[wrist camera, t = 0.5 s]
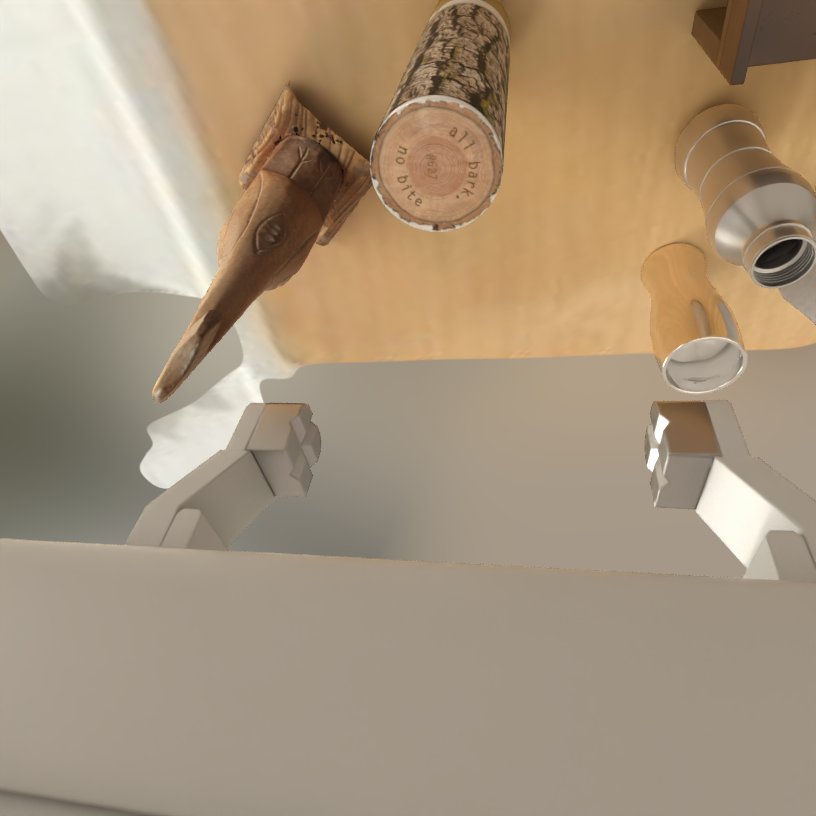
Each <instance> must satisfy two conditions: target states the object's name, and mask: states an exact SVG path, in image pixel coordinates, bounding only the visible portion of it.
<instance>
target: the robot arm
mask: <svg viewBox="0 0 816 816" xmlns="http://www.w3.org/2000/svg"><path fill="white" fill-rule="evenodd" d="M312 415H313V413H312V411H311V409H310V407H309V405H307V404H301V403H300V404H299V403H250V404H249V405H248V406H247V407H246V409H245V411H244V413H243V415H242V417H241V419H240V421H239V423H238V425H237V427H236V429H235V431H234V433H233V436H232V438H231V440H230V442H229V444H228V446H227V448H226V450H220V451H218V452H217V453H216V454H214V455H213V456H212V457H210V458H209V459H208V460H206V461H205V462H204V463H202V464H201V465H200V466H198V467H197V468H196V469H194V470H193V471H192V472H190V473H189V474H188V475H186V476H185V477H184V478H182V479H181V480H180V481H178V482H177V483H176V484H174V485H173V486H172V487H170V488H169V489H168V490H166V491H165V492H164V493H162V494H161V495H160V496H158V497H157V498H156V499H154V500H153V501H152V502H150V503H149V504H148V505H146V507H145V509H144V511H143V512H142V514H141V516H140V518H139V519H138V521H137V523H136V525H135V527H134V528H133V530H132V532H131V534H130V535H129V537H128V539H127V541H126V543H125V544H124V545H111V544H91V543H73V542H54V541H35V540H18V539H5V538H0V816H816V501H815V500H814V499H812V498H811V497H810V496H808V495H807V494H806V493H805V492H803V491H802V490H801V489H799V488H798V487H797V486H795V485H794V484H793V483H792V482H790V481H789V480H788V479H786V478H785V477H784V476H782V475H781V474H780V473H778V472H777V471H776V470H774V469H773V468H772V467H771V466H769V465H768V464H767V463H765V462H764V461H763V460H761V459H760V458H759V457H751V456H750V453H749V451H748V448H747V445H746V442H745V440H744V437H743V434H742V431H741V429H740V426H739V423H738V420H737V418H736V415H735V412H734V410H733V407H732V404H731V403H730V402H729V401H728V400H707V401H654V402H653V404H652V406H651V411H650V417H651V422H652V424H650V425H649V426H648V427H647V430H646V436H645V458H646V464H647V468H649V469H650V470H651V471H652V472H653V473H652V477H651V481H650V485H651V490H652V495H653V500H654V505H655V507H660V508H678V509H696V512H697V513H698V515H699V516H700V517H701V518H702V519H703V520H704V521H705V522H706V523H707V525H708V526H709V527H710V528H711V529H712V530H713V531H714V532H715V533H716V535H717V536H718V537H719V538H720V539H721V540H722V541H723V542H724V543H725V544H726V546H727V547H728V548H729V549H730V550H731V551H732V552H733V553H734V554H735V556H736V557H737V558H738V559H739V560H740V561H741V562H742V563H743V564H744V566H745V567H746V568H747V571H746V572H745V575H744V576H743V578H728V577H709V576H691V575H673V574H653V573H636V572H635V573H634V572H616V571H598V570H578V569H577V570H576V569H559V568H541V567H521V566H502V565H484V564H482V565H481V564H465V563H447V562H446V563H445V562H427V561H410V560H409V561H408V560H391V559H372V558H354V557H336V556H335V557H334V556H316V555H297V554H279V553H259V552H242V551H229V550H228V549H227V548H228V547H229V546H230V545H231V544H232V543H233V542H234V541H235V540H236V539H237V537H238V536H239V535H240V534H241V533H242V532H243V531H244V530H245V529H246V528H247V527H248V526H249V525H250V524H251V523H252V522H253V521H254V520H255V519H256V518H257V517H258V515H260V513H261V512H262V511H263V510H264V509H265V508H266V507H267V506H268V505H269V504H270V503H271V502H272V501H273V500H274V499H275V496H306V495H307V492H308V489H309V486H310V483H311V480H312V477H313V474H312V472H311V470H310V468H311V467H312V466H313V465H314V464H315V463H317V462H318V459H319V455H320V451H321V450H320V449H321V437H320V432H319V429H318V426H316V425H315V424H314V423H313V422H311V421H310V420H311V417H312Z"/></svg>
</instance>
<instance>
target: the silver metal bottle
mask: <svg viewBox="0 0 816 816" xmlns="http://www.w3.org/2000/svg"><path fill="white" fill-rule="evenodd" d="M675 168H676V171H677V174H678V176H679V177H680V179H681V180H682V181H683V182H684V183H685V185H686V186H688V187H689V188H690V189H691V190H693V191H694V193H695V194H696V195H697V197H698V198H699V200H700V202H701V205H702V208H703V211H704V216H705V224H706V231H707V236H708V240H709V243H710V245H711V248H712V249H713V250H714V252H715V253H716V254H717V255H719V256H720V257H721V258H723V259H724V260H726V261H728V262H730V263H732V264H735V265H739V266H744V267H745V269H746V270H747V272H748V273H749V274H750V276H751V278H752V279H753V281H754V282H755V283H756V284H758V285H759V286H761V287H765V288H781V287H785V286H788V285H791V284H793V283H795V282H797V281H799V280H800V279H801V278H803V277H804V276H805V275H806V274H807V273H809V271H810V270H811V269H812V268H813V266H814V265H815V263H816V244H815V242H814V240H813V237H812V234H811V232H810V229H811V227H812V226H813V223H814V220H815V217H816V197H815V192H814V190H813V188H812V186H811V185H810V184H809V183H808V182H807V181H806V180H805V179H804V178H803V177H802V176H801V175H800V174H798V173H797V172H795V171H793V170H792V169H790V168H789V167H787V166H786V165H784V164H783V163H781V162H780V161H779V160H778V159H777V158H776V157H775V155H774V154H773V153H772V152H771V151H770V149H769V147H768V144H767V142H766V137H765V133H764V129H763V127H762V124H761V122H760V120H759V118H758V117H757V116H756V115H755V114H754V113H753V112H752V111H750V110H748V109H746V108H744V107H742V106H740V105H736V104H721V105H716V106H713V107H711V108H708V109H706V110H704V111H703V112H701V113H699V114H698V115H697V116H696V117H694V118H693V119H692V120H691V121H690V122H689V123H688V124H687V125H686V127H685V128H684V129H683V131H682V132H681V134H680V136H679V138H678V140H677V144H676V147H675Z"/></svg>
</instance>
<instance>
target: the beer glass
mask: <svg viewBox="0 0 816 816" xmlns="http://www.w3.org/2000/svg"><path fill="white" fill-rule="evenodd" d="M641 280H642V282H643V285H644V286H645V288H646V289H647V291H648V292H649V294H650V297H651V311H650V336H651V341H652V346H653V350H654V353H655V356H656V359H657V362H658V365H659V367H660V370H661V372H662V377H663V379H664V381H665V383H666V384H667V385H668V386H669V387H670V388H672V389H674V390H676V391H678V392H681V393H686V394H706V393H711V392H715V391H718V390H720V389H723V388H725V387H727V386H728V385H730V384H732V383H733V382H734V381H735V380H737V379H738V378H739V377H740V376H741V375H742V373H743V372H744V370H745V368H746V366H747V361H748V357H747V353H746V350H745V347H744V343H743V339H742V335H741V332H740V329H739V326H738V323H737V320H736V318H735V316H734V314H733V312H732V310H731V308H730V307H729V305H728V304H727V302H726V301H725V299H724V298H723V297H722V296H721V294H720V293H719V292H718V291H717V290H716V288H715V287H714V286H713V285H712V284H711V282H710V281H709V280H708V278H707V271H706V260H705V257H704V255H703V253H702V252H701V251H700V250H699V249H698V248H697V247H695V246H693V245H690V244H685V243H675V244H670V245H667V246H664V247H662V248H660V249H658V250H656V251H655V252H654V253H652V254H651V255H650V256H649V257H648V258H647V260H646V261H645V263H644V265H643V267H642V270H641Z"/></svg>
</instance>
